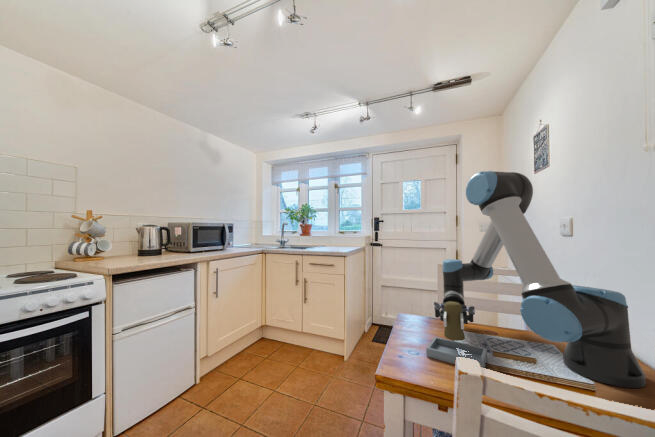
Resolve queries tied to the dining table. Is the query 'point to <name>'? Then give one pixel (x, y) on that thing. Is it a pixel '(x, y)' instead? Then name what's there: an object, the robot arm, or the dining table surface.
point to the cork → (453, 321)
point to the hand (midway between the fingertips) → (453, 323)
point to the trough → (454, 351)
